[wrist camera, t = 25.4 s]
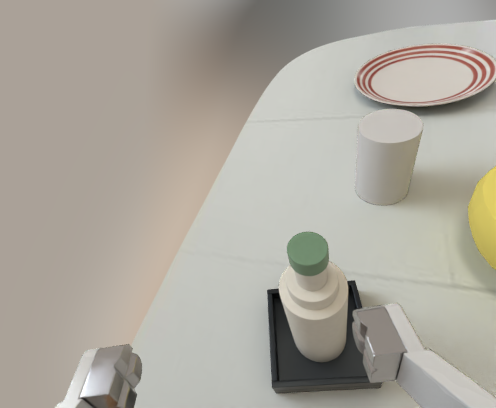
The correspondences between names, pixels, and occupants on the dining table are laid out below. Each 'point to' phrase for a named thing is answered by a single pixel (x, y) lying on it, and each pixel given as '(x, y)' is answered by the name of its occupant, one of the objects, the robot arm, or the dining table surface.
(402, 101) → the dinner plate
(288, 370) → the black square tray
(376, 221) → the dining table surface
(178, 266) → the dining table surface
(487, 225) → the vase
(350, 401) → the dining table surface
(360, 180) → the white cylinder
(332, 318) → the bottle
